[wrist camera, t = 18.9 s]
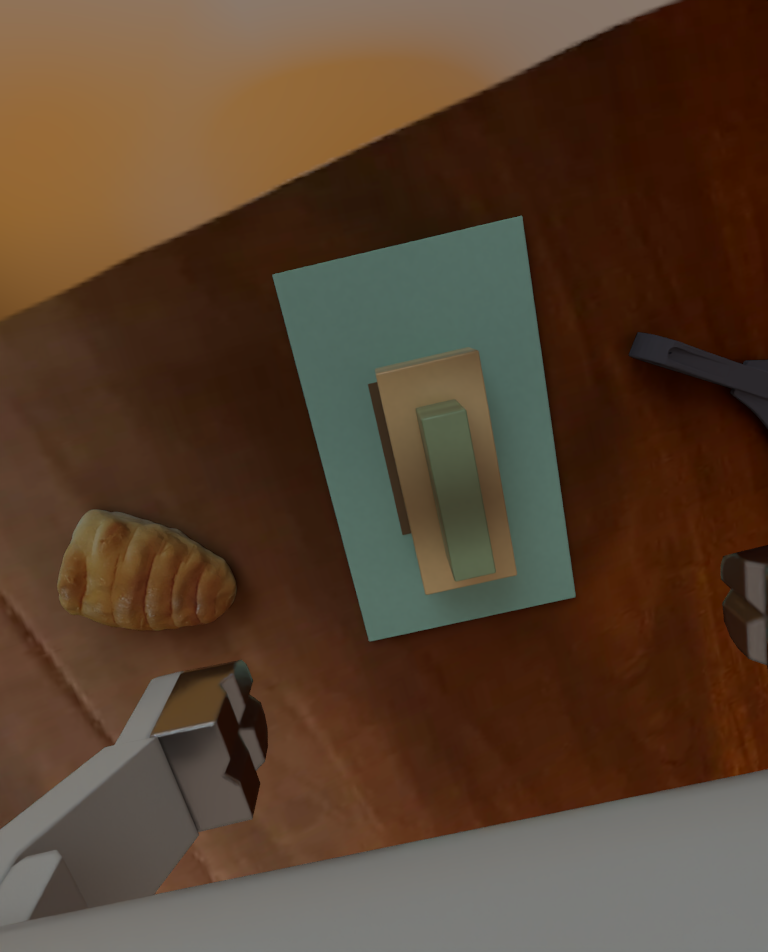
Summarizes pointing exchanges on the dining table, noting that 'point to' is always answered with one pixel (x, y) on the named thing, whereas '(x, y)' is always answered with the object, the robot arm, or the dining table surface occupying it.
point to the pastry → (141, 575)
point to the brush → (448, 468)
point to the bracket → (708, 369)
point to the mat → (365, 429)
